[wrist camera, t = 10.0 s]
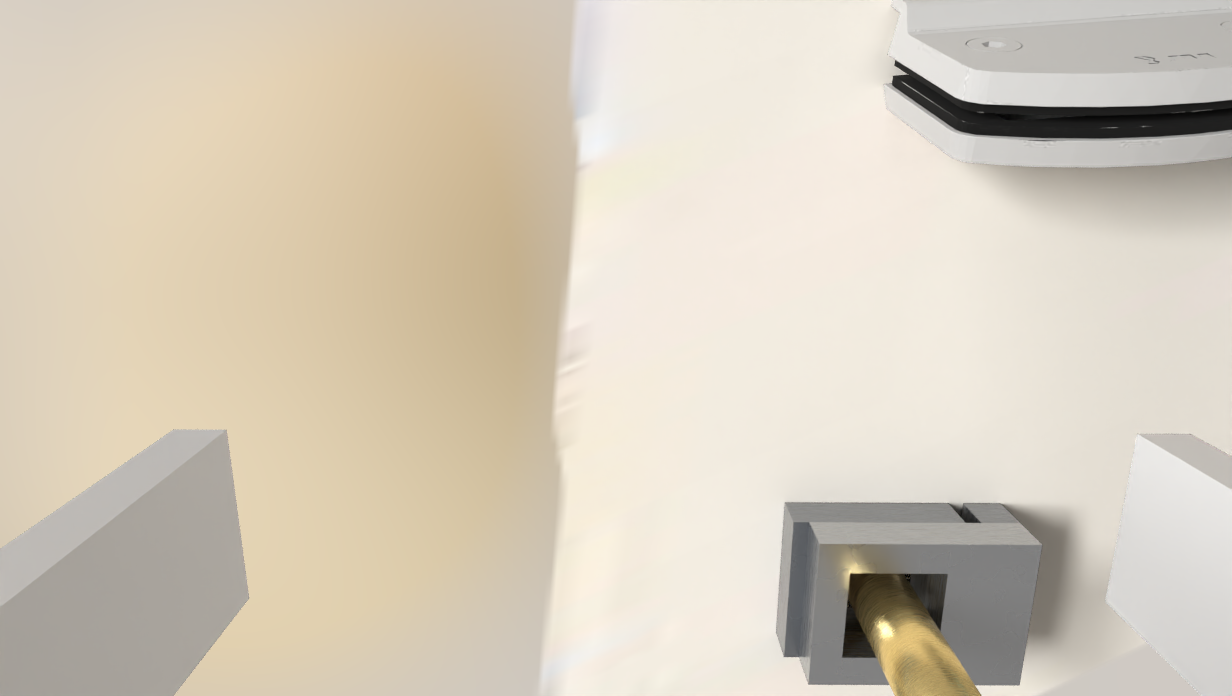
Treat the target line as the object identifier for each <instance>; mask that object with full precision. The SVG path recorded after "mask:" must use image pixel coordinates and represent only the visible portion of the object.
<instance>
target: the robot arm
mask: <svg viewBox="0 0 1232 696" xmlns="http://www.w3.org/2000/svg"><path fill="white" fill-rule="evenodd" d="M248 599H249V594H248V586H247V579H246V571H245V565H244V557H243V549H242V541H241V534H240V526H239V519H238V512H237V504H236V496H235V489H234V481H233V475H232V467H231V459H230V452H229V444H228V437H227V430H172V431H171V432H169V433H168V434H166V435H165V436H163V437H162V438H160V439H159V440H158V441H156V442H155V443H153V444H152V445H150V446H149V447H147V448H146V449H144V450H143V451H142V452H140V453H139V454H137V455H136V456H135V457H133V458H131V459H130V460H129V461H127V462H126V463H124V464H123V465H121V466H120V467H118V468H117V469H115V470H114V471H113V472H111V473H110V474H108V475H107V476H105V477H104V478H102V479H101V480H100V481H98V482H97V483H95V484H94V485H92V486H91V487H89V488H88V489H86V490H85V491H84V492H82V493H81V494H79V495H78V496H76V497H75V498H73V499H72V500H70V501H69V502H68V503H66V504H65V505H63V506H62V507H60V508H59V509H57V510H56V511H54V512H53V513H52V514H50V515H49V516H47V517H46V518H44V519H43V520H41V521H40V522H39V523H37V524H36V525H34V526H33V527H31V528H30V529H28V530H27V531H26V532H24V533H22V534H21V535H20V536H18V537H17V538H15V539H14V540H12V541H11V542H9V543H8V544H6V545H5V546H4V547H2V548H1V549H0V696H174V695H175V693H176V692H177V691H178V689H179V688H180V687H181V686H182V684H183V683H184V682H185V680H186V679H187V678H188V676H189V675H190V674H191V673H192V671H193V670H194V669H195V667H196V666H197V665H198V664H199V662H200V661H201V660H202V658H203V657H204V656H205V655H206V653H207V652H208V651H209V649H210V648H211V647H212V645H213V644H214V643H215V642H216V640H217V639H218V638H219V637H220V635H221V634H222V632H223V631H224V630H225V629H226V627H227V626H228V625H229V624H230V622H231V621H232V620H233V618H234V617H235V616H236V615H237V613H238V612H239V610H240V609H241V608H242V607H243V606H244V604H245V603H246V602H247V600H248ZM1105 602H1106V603H1107V604H1108V605H1109V606H1110V607H1111V608H1112V609H1113V610H1114V611H1115V612H1116V613H1117V614H1118V615H1119V616H1120V617H1121V618H1122V619H1123V620H1124V621H1125V622H1126V623H1127V624H1128V625H1129V626H1130V627H1131V628H1133V629H1134V630H1135V631H1136V632H1137V633H1138V634H1139V635H1140V636H1141V637H1142V638H1143V639H1144V640H1145V641H1146V642H1147V643H1148V644H1149V645H1150V646H1151V647H1152V648H1153V649H1154V650H1155V651H1156V652H1157V653H1158V654H1159V655H1160V656H1161V657H1162V658H1163V659H1164V660H1165V661H1166V662H1167V663H1168V664H1169V665H1171V666H1172V668H1174V669H1175V670H1176V671H1177V672H1178V673H1179V674H1180V675H1181V676H1182V677H1183V678H1184V679H1185V680H1186V681H1187V682H1188V683H1189V684H1190V685H1191V686H1192V687H1193V688H1194V689H1195V690H1196V691H1197V692H1198V693H1199V694H1200V695H1201V696H1232V456H1230V455H1228V454H1226V453H1225V452H1223V451H1221V450H1219V449H1217V448H1215V447H1213V446H1212V445H1210V444H1208V443H1206V442H1204V441H1202V440H1200V439H1199V438H1197V437H1195V436H1193V435H1191V434H1137V438H1136V443H1135V448H1134V453H1133V459H1132V464H1131V469H1130V474H1129V480H1128V485H1127V490H1126V495H1125V501H1124V506H1123V511H1122V516H1121V522H1120V527H1119V532H1118V537H1117V543H1116V548H1115V553H1114V558H1113V563H1112V569H1111V574H1110V579H1109V584H1108V590H1107V595H1106V600H1105Z"/></svg>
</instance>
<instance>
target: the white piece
mask: <svg viewBox="0 0 1232 696" xmlns="http://www.w3.org/2000/svg"><path fill="white" fill-rule="evenodd" d="M891 7H893V8H894V9H895V10H897V11H898V12H899V13H900V15H899V18H898V22H897V25H896V28H895V31H894V35H893V38H892V41H891V44H890V48H889V51H888V54H887V55H889V56H890V57H892V58H893V59H895V66H896V67H898V68H899V69H901V70H902V71H904V72H905V73H907V74H909V75H898V76H893V81H892V83H888V84H884V96H885V103H886V108H887V110H889V111H890V112H891V113H893V114H894V115H895V116H897V117H898V118H899V119H900V120H902V121H903V122H904V123H906V124H907V125H908V126H910V127H911V128H912V129H914V130H915V131H916V132H918V133H919V134H920V135H922V136H923V137H924V138H926V139H927V140H928V141H929V142H931V143H932V144H933V145H935V146H936V147H937V148H939V149H940V150H941V151H943V152H944V153H945V154H947V155H948V156H949V157H951V158H953V159H956V160H959V161H962V162H968V163H979V164H993V165H1008V166H1030V167H1101V168H1103V167H1127V166H1152V165H1167V164H1180V163H1192V162H1200V161H1208V160H1216V159H1224V158H1231V157H1232V0H892V1H891Z"/></svg>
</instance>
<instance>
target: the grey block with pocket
mask: <svg viewBox="0 0 1232 696" xmlns="http://www.w3.org/2000/svg"><path fill="white" fill-rule="evenodd" d="M1041 551H1042V544H1041V543H1040V542H1039V541H1038V540H1037V539H1036V538H1035V537H1034V536H1033V535H1032V534H1031V533H1030V532H1029V531H1028V530H1027V529H1026V528H1025V527H1024V526H1023V525H1022V524H1021V523H1020V522H1019V521H1018V520H1017V519H1016V518H1015V517H1014V516H1013V515H1012V514H1011V513H1010V512H1009V511H1008V510H1007V509H1006V508H1005V507H1004V506H1002V505H1001V504H971V503H963V510H962V518H961V517H960V516H959V515H958V514H957V512H956V511H955V510H954V509H953V508H952V507H951V506H950V505H949V503H785V507H784V522H783V537H782V552H781V567H780V582H779V597H778V612H777V627H776V633H777V636H778V639H779V643H780V646H781V649H782V652H783V655H784V657H799V659H800V662H801V665H802V667H803V670H804V673H805V676H806V679H807V682H808V684H809V685H890V684H889V682H888V680H887V678H886V676H885V674H884V672H883V670H882V668H881V666H880V664H879V662H878V660H877V658H876V656H875V654H874V652H873V650H872V647H871V645H870V643H869V641H868V639H867V637H866V635H865V633H864V631H863V629H862V627H861V625H860V623H859V621H858V619H857V617H856V615H855V613H854V611H853V608H852V607H847V600H848V589H849V578H850V573H872V574H911V575H910V585H911V586H912V588H913V589H914V591H915V592H916V594H917V596H918V597H919V599H920V600H921V602H922V603H923V605H924V606H925V608H926V610H927V611H928V613H929V614H930V616H931V617H932V619H933V621H934V622H935V624H936V625H937V627H938V628H939V630H940V632H941V633H942V635H943V636H944V638H945V639H946V641H947V643H948V644H949V646H950V647H951V649H952V650H953V652H954V653H955V655H956V657H957V658H958V660H959V661H960V663H961V664H962V666H963V668H964V669H965V671H966V672H967V674H968V675H969V677H970V679H971V680H972V682H973V683H974V685H1020V679H1021V673H1022V667H1023V661H1024V655H1025V649H1026V643H1027V636H1028V630H1029V624H1030V618H1031V612H1032V606H1033V600H1034V594H1035V587H1036V581H1037V575H1038V569H1039V563H1040V557H1041Z"/></svg>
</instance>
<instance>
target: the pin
mask: <svg viewBox="0 0 1232 696" xmlns="http://www.w3.org/2000/svg"><path fill="white" fill-rule="evenodd" d="M848 600H849V602H850V604H851V606H852V608H853V611H854V613H855V615H856V617H857V619H858V621H859V623H860V625H861V627H862V629H863V631H864V633H865V635H866V637H867V639H868V641H869V643H870V645H871V647H872V650H873V652H874V654H875V656H876V658H877V660H878V662H879V664H880V666H881V668H882V670H883V672H884V674H885V676H886V678H887V680H888V682H889V684H890V686H891V689H892V691H893V693H894V695H895V696H981V694H980V693H979V691H978V690H977V688H976V686H975V685H974V683H973V682H972V680H971V679H970V677H969V675H968V674H967V672H966V671H965V669H964V668H963V666H962V664H961V663H960V661H959V660H958V658H957V657H956V655H955V653H954V652H953V650H952V649H951V647H950V646H949V644H948V643H947V641H946V639H945V638H944V636H943V635H942V633H941V632H940V630H939V628H938V627H937V625H936V624H935V622H934V621H933V619H932V617H931V616H930V614H929V613H928V611H927V610H926V608H925V606H924V605H923V603H922V602H921V600H920V599H919V597H918V596H917V594H916V592H915V591H914V589H913V588H912V586H911V585H910V583H909V581H908V580H907V578H906V577H905V575H904V574H872V573H850V578H849V589H848Z"/></svg>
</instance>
